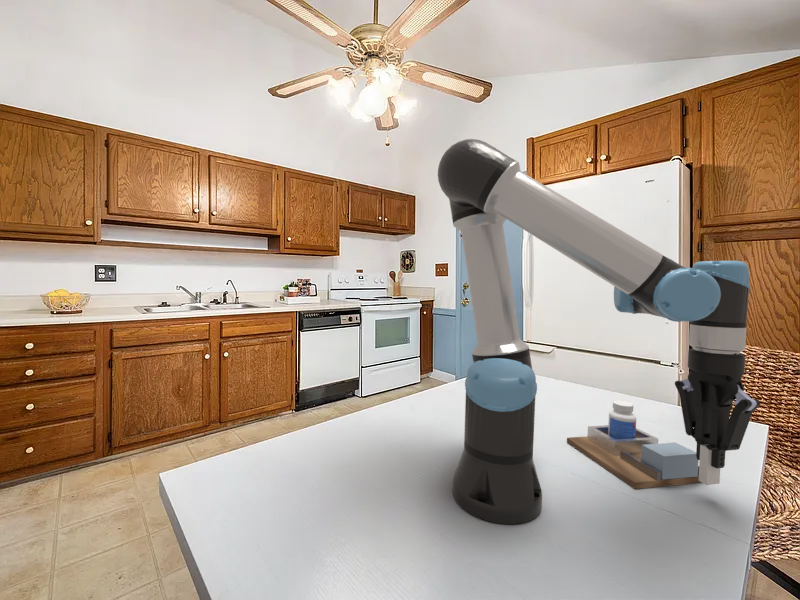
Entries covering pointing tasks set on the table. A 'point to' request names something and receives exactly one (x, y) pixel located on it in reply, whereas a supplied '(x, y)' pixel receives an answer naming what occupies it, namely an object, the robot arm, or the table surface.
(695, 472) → the block
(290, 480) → the table surface
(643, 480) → the board
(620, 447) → the socket
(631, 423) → the pill bottle
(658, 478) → the rails
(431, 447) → the table surface
